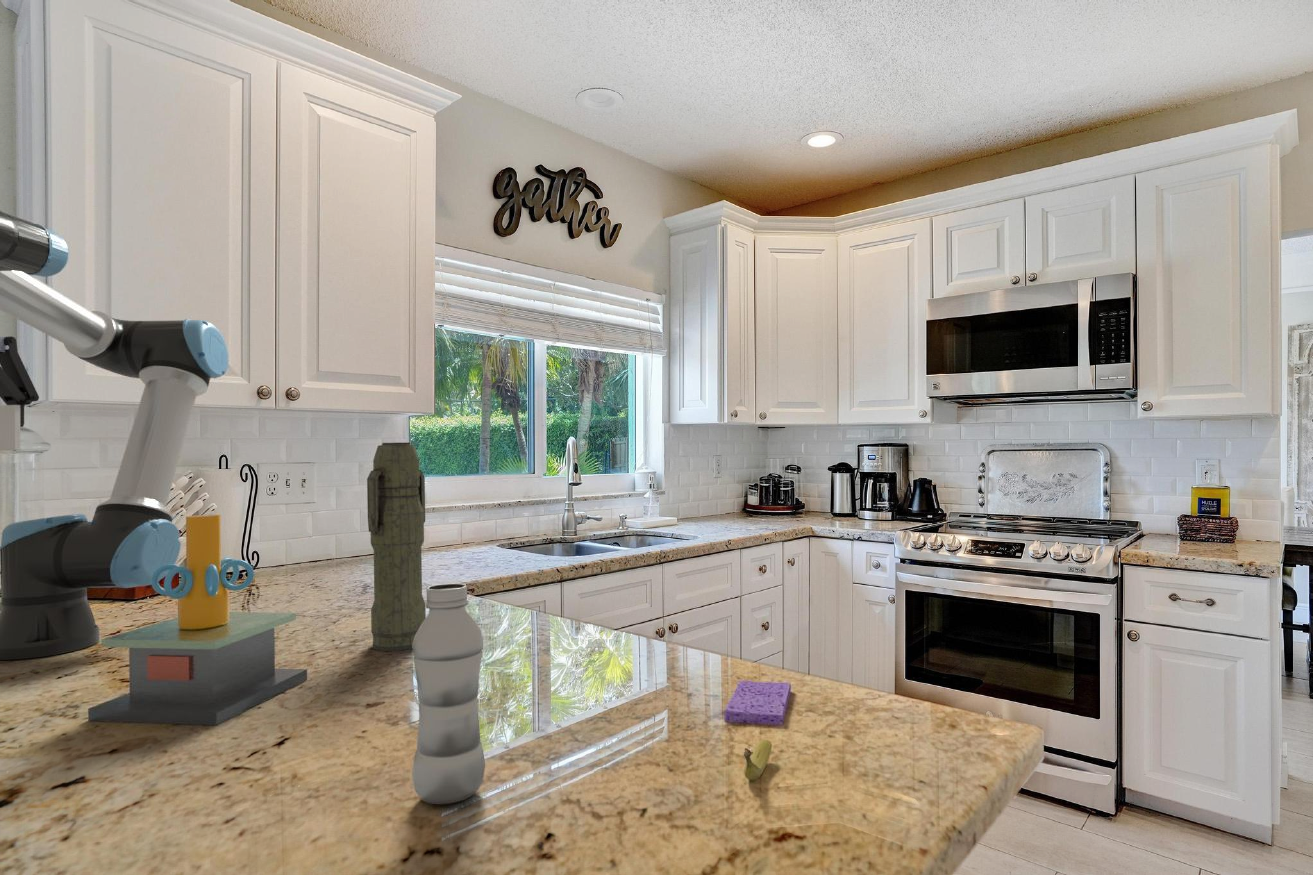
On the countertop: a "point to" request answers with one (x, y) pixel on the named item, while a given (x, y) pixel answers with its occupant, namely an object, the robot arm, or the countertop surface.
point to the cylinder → (202, 576)
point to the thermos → (396, 545)
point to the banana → (757, 759)
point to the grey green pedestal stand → (199, 671)
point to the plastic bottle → (448, 699)
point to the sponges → (758, 703)
